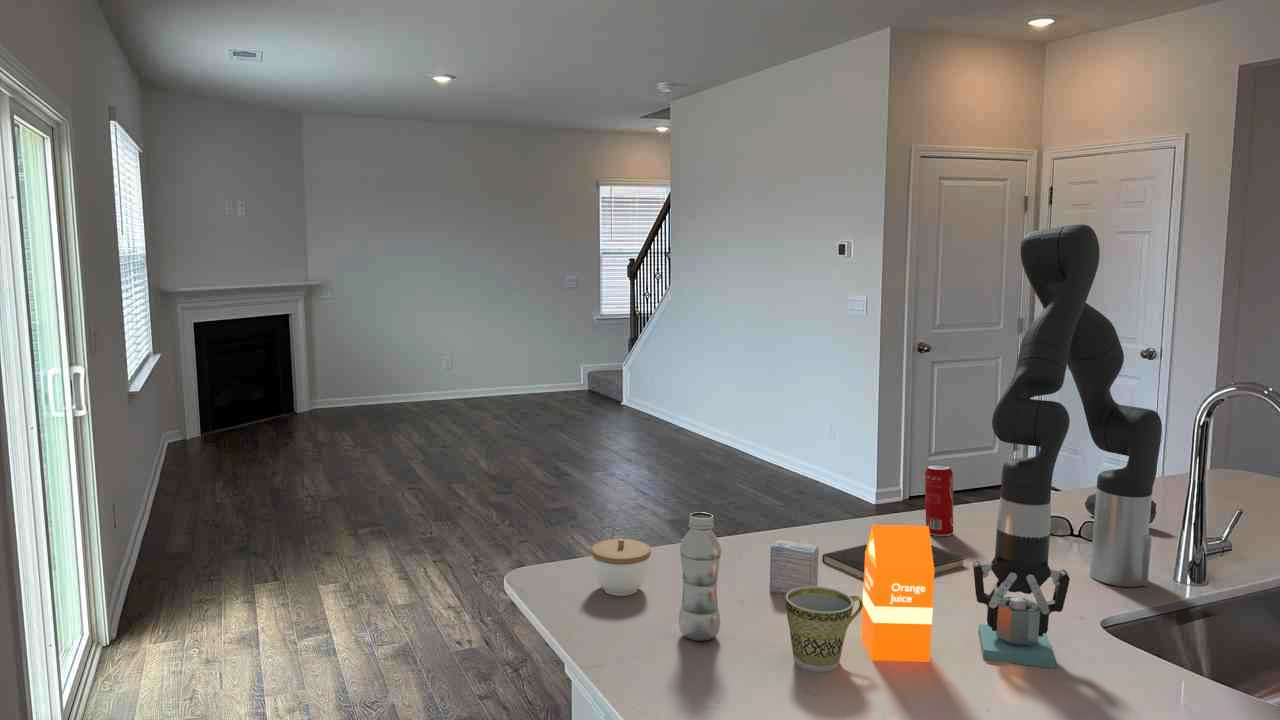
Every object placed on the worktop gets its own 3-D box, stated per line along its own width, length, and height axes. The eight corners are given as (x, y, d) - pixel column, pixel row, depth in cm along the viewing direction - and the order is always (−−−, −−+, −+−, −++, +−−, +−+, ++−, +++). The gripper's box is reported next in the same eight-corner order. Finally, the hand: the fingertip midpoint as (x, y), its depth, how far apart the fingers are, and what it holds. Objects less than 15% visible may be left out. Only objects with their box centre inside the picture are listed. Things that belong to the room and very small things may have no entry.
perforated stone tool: (1079, 516, 211) (1081, 487, 210) (1090, 512, 214) (1092, 484, 213) (1145, 533, 199) (1148, 502, 198) (1156, 528, 203) (1159, 498, 202)
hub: (1034, 630, 142) (1036, 599, 141) (1039, 646, 136) (1041, 614, 136) (993, 625, 144) (995, 595, 143) (997, 640, 138) (999, 609, 137)
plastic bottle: (708, 649, 139) (711, 524, 136) (670, 639, 142) (672, 516, 140) (727, 634, 144) (730, 514, 142) (690, 624, 148) (692, 507, 145)
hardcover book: (965, 568, 177) (965, 557, 177) (882, 590, 165) (882, 578, 165) (902, 545, 191) (903, 534, 190) (821, 563, 179) (822, 552, 178)
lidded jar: (614, 574, 170) (615, 526, 169) (661, 587, 164) (662, 537, 163) (578, 591, 161) (579, 541, 160) (627, 606, 155) (627, 553, 154)
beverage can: (954, 538, 194) (958, 470, 192) (923, 536, 195) (927, 468, 193) (951, 529, 199) (954, 464, 198) (920, 527, 201) (924, 462, 199)
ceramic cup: (807, 683, 129) (810, 616, 127) (770, 653, 138) (772, 591, 136) (880, 667, 134) (884, 603, 133) (840, 640, 143) (843, 579, 142)
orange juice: (860, 638, 144) (866, 517, 141) (916, 639, 143) (922, 518, 141) (871, 660, 136) (877, 533, 133) (930, 662, 136) (937, 534, 133)
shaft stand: (1044, 640, 144) (1048, 592, 142) (1054, 668, 134) (1058, 617, 133) (978, 632, 146) (981, 585, 145) (983, 659, 137) (986, 608, 136)
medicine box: (817, 591, 163) (819, 545, 162) (811, 599, 159) (813, 552, 158) (775, 583, 166) (777, 538, 165) (768, 592, 162) (770, 545, 161)
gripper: (1070, 525, 139) (1062, 628, 141) (971, 516, 143) (965, 616, 145) (1079, 540, 132) (1070, 648, 134) (975, 530, 136) (968, 635, 138)
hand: (1016, 631), depth 140 cm, fingers closed on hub, 6 cm apart
